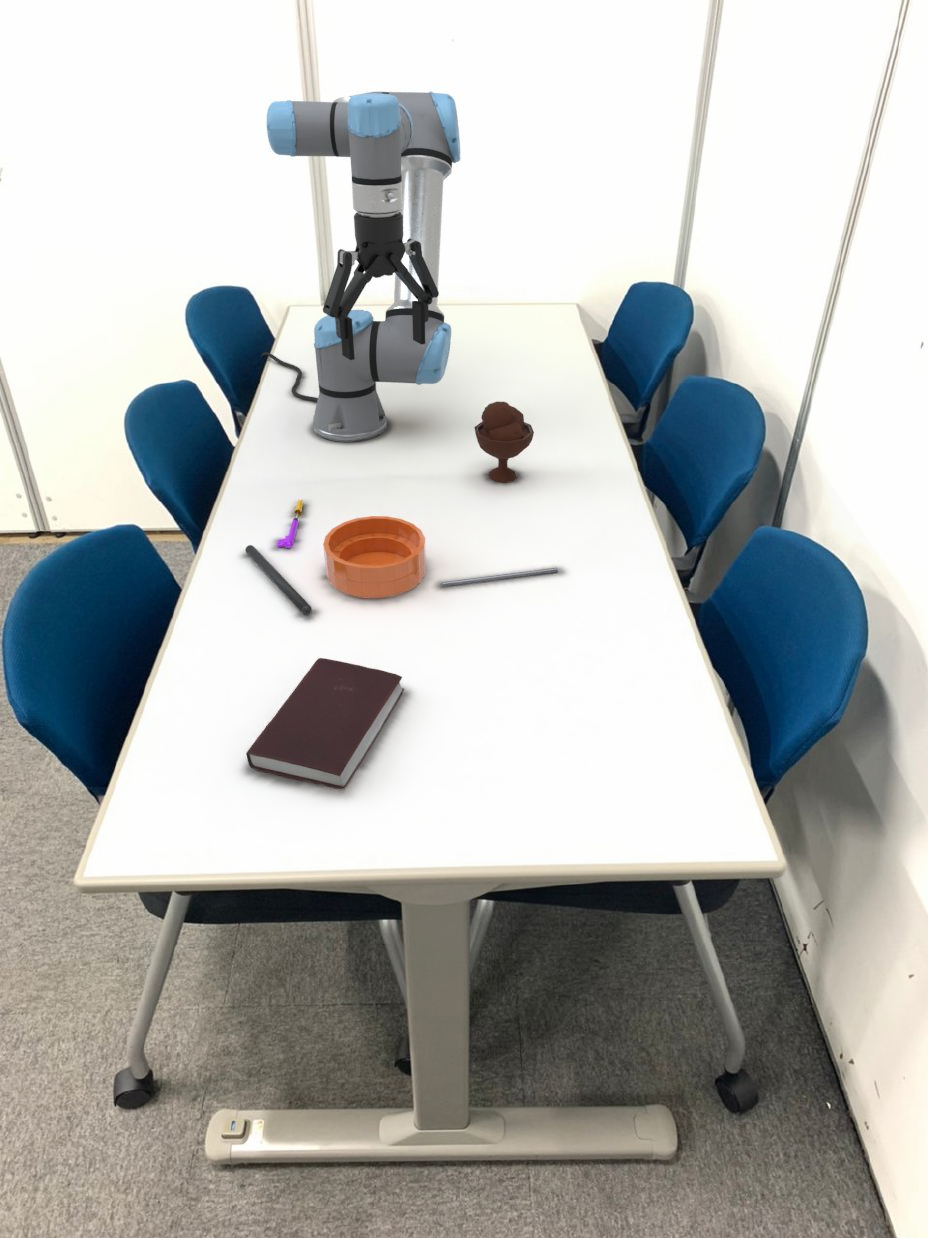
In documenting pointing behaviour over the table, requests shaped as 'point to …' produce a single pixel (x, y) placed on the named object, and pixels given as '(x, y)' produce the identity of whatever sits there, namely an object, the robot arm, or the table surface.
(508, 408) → the ice cream bowl
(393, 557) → the bowl
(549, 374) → the table surface
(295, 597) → the stick
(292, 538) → the purple gold bent tool
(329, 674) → the book
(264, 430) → the table surface
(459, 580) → the rod
